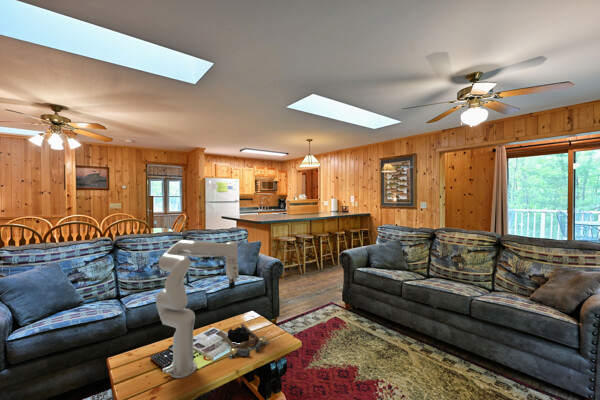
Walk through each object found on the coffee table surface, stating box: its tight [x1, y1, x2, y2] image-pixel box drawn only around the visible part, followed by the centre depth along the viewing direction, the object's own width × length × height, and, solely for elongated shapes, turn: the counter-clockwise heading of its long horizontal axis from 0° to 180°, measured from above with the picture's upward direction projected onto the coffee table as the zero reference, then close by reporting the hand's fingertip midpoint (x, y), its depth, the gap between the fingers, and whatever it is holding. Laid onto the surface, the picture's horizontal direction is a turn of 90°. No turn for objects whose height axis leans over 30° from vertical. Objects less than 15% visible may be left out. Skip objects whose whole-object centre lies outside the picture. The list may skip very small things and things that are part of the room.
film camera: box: [227, 326, 250, 343], centre depth 162 cm, size 15×10×9 cm, turn 73°
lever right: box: [255, 335, 267, 353], centre depth 155 cm, size 11×4×3 cm, turn 170°
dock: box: [218, 323, 259, 349], centre depth 164 cm, size 16×22×3 cm
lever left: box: [229, 347, 251, 357], centre depth 147 cm, size 11×4×3 cm, turn 80°
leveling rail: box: [227, 340, 270, 360], centre depth 153 cm, size 25×4×1 cm, turn 128°
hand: (231, 288), depth 172 cm, fingers closed
